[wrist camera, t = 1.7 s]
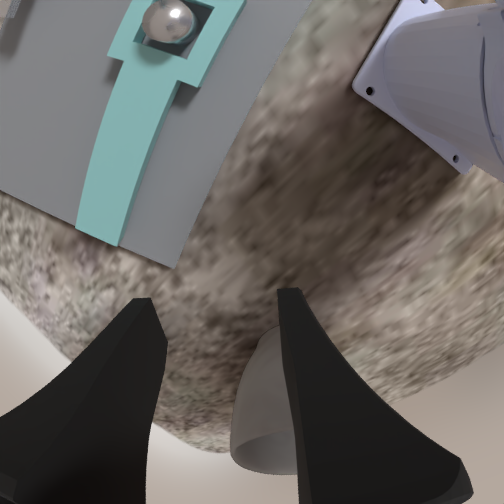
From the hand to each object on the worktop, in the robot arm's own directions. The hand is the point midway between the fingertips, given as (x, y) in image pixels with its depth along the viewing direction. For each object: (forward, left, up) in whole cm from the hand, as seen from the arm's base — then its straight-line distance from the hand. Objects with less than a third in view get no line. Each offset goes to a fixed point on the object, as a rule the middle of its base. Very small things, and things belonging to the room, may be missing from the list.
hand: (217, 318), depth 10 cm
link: (+6, -3, -8) cm, 11 cm away
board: (+10, -5, -10) cm, 15 cm away
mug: (-11, +10, -10) cm, 18 cm away
